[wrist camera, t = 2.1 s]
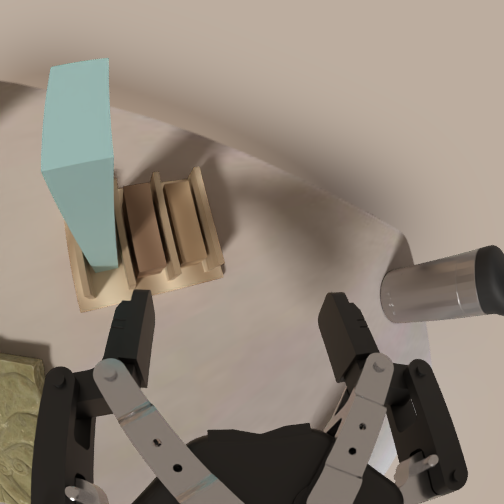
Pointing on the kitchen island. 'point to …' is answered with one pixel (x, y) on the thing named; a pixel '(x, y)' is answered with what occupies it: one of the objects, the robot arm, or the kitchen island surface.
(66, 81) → the teal board
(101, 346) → the kitchen island surface
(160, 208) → the beech rack
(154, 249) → the walnut offcut
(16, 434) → the decorative tile
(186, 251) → the oak offcut
